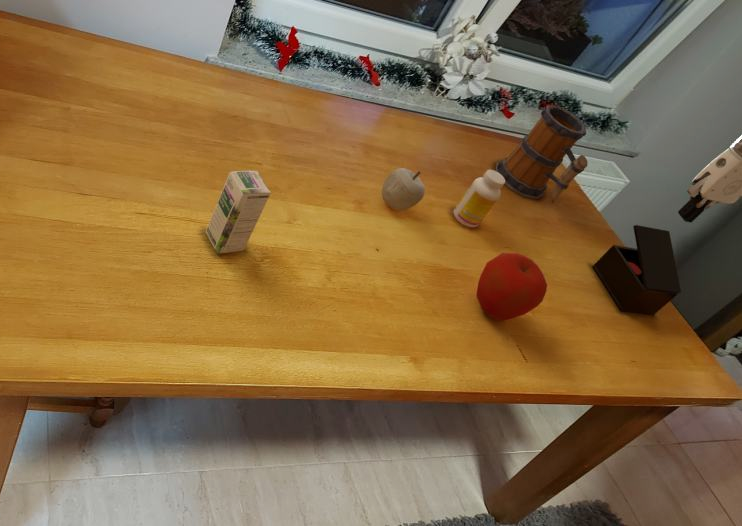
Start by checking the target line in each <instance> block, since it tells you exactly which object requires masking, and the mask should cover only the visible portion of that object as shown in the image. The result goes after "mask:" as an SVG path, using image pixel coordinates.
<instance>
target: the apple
mask: <svg viewBox="0 0 742 526" xmlns="http://www.w3.org/2000/svg"><path fill="white" fill-rule="evenodd" d="M547 289H548V283H547V280H546V277H545V276H544V273H543V271H542V270H541V268H540V267H539V265H538V264H537V263H536V262H535V261H534V260H533V259H531V258H530V257H527V256H526V255H523V254H520V253H518V252H517V253H515V252H501V253H499V254H498V255H496V256H495V257H493V258H492V259H490V260H488V261H487V262H486V264H485V266H484V268H483V270H482V271H481V274H480V275H479V279H478V283H477V290H476V299H477V301H478V304H479V306H480V308H481V310H482V311H483V312H484V313H485V314H486V315H487V316H489V317H490V318H493V319H495V320H499V321H503V322H505V321H510V320H513V319H517V318H518V317H522V316H524V315H526V314H528V313H530V312H531V311H533V310H534V309H536V308H537V307H539V306H540V304H542V302H543V301H544V299H545V296H546V293H547Z"/></svg>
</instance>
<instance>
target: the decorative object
mask: <svg viewBox="0 0 742 526" xmlns="http://www.w3.org/2000/svg"><path fill="white" fill-rule="evenodd" d="M421 173H422V171H421V170H418V171H417V172H416V173H414V172H413V171H412V170H410V169H408V168H405V167H399V168H395V169H393V170H392V171H391V172H390V173H389V174H388V175H387V177H386V178H385V180H384V182H383V185H382V188H381V197H382V199H383V201H384V203H385V204H386V205H387V207H389V208H390V209H392V210H395V211H406V210H409V209H411V208H413V207H415V206H417V204H419V203H420V202H421V201H422V200H423V198H424V197H425V194H426V193H425V192H426V187H425V184H424V183H423V181H422V180H421V179H420V177H419V175H420V174H421Z"/></svg>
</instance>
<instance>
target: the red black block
mask: <svg viewBox="0 0 742 526" xmlns="http://www.w3.org/2000/svg"><path fill="white" fill-rule="evenodd" d="M628 264H629V265H630V266H631V268H632V269H633V271H634V272H635V274H636V275H637V277H638V276H639V275H640V274H641V270H640V269H639V267H638V266H636V265H635V264H634V263H632V262H628Z"/></svg>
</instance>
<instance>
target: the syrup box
mask: <svg viewBox="0 0 742 526" xmlns="http://www.w3.org/2000/svg"><path fill="white" fill-rule="evenodd" d="M271 193H272V192H271V190H270V189H269V188H268V186H267V185H266V183H265V181H264V179H263V178H262V176H261V175H260V173H259V172H258V170H234V171H230V172H229V173H228V176H227V178H226V180H225V183H224V185H223V188H222V190H221V193H220V195H219V198H218V200H217V203H216V205H215V207H214V209H213V212H212V214H211V217H210V220H209V222H208V224H207V226H206V229H205V234H206V235H207V237H208V240H209V242H210V244H211V246H212V247H213V249H214V251H215V252H216V254H218V255H220V254H227V253H236V252H242V251H244V250H245V249H246V246H247V244H248V242H249V240H250V238H251V236H252V233H253V232H254V230H255V229H256V225H257V223H258V221H259V219H260V217H261V214H262V213H263V212H264V211H263V210H264V208H265V206H266V204H267V202H268V200H269V198H270V197H271Z"/></svg>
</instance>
